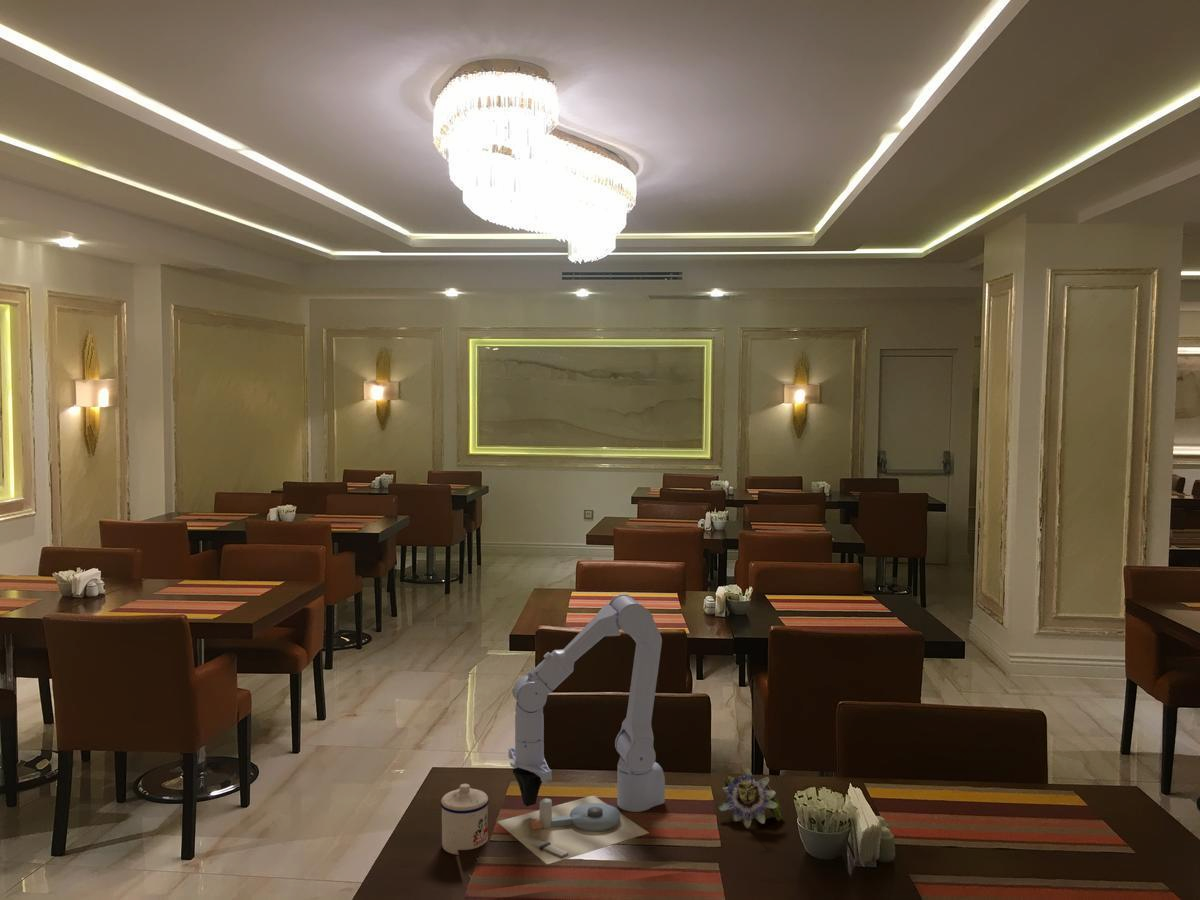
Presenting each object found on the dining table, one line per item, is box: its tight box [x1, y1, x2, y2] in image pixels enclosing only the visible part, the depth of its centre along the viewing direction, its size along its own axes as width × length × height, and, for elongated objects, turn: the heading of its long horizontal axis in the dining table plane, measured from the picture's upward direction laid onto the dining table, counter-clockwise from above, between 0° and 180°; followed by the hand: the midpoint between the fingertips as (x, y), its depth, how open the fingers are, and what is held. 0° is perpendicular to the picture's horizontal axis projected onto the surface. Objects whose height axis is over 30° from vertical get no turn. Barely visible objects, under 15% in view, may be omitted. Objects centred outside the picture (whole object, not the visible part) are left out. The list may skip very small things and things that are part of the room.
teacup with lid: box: [439, 783, 490, 856], centre depth 182 cm, size 12×9×12 cm
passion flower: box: [717, 768, 783, 830], centre depth 192 cm, size 11×11×12 cm
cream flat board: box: [496, 795, 650, 865], centre depth 186 cm, size 23×20×2 cm
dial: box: [531, 797, 621, 832], centre depth 188 cm, size 18×10×5 cm, turn 105°
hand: (529, 804), depth 191 cm, fingers closed
